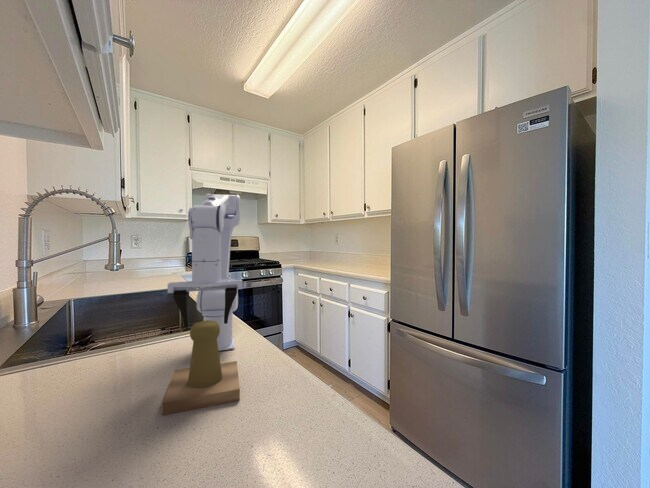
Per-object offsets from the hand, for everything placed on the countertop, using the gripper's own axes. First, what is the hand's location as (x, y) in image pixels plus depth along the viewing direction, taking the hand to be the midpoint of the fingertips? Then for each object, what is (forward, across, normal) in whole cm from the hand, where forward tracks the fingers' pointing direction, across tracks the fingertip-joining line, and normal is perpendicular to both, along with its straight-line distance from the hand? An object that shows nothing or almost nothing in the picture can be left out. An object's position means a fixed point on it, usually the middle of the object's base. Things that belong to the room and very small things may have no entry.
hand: (206, 324), depth 59 cm
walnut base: (+10, 0, -7) cm, 13 cm away
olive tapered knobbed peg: (+9, 0, -7) cm, 11 cm away
